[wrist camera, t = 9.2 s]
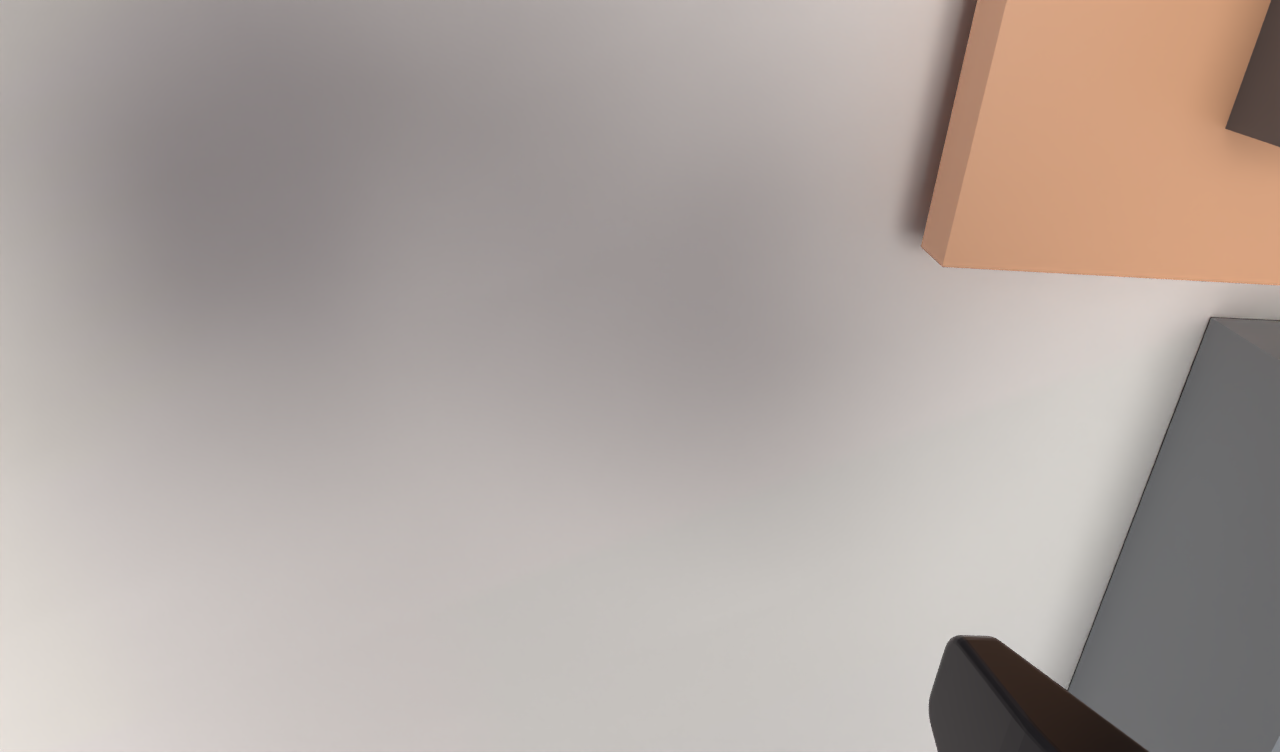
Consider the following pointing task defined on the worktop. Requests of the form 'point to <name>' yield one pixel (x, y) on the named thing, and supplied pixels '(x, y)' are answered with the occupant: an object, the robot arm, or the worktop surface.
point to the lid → (1115, 141)
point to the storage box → (1201, 566)
